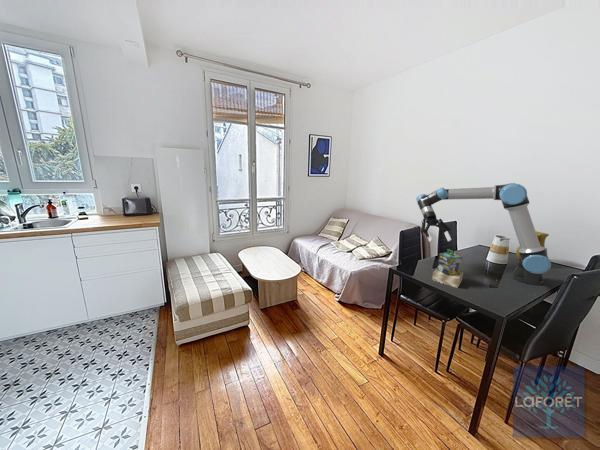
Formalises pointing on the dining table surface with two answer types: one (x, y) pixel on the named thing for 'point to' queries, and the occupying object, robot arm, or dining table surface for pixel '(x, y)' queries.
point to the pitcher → (541, 239)
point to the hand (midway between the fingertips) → (440, 240)
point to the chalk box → (449, 263)
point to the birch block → (447, 278)
